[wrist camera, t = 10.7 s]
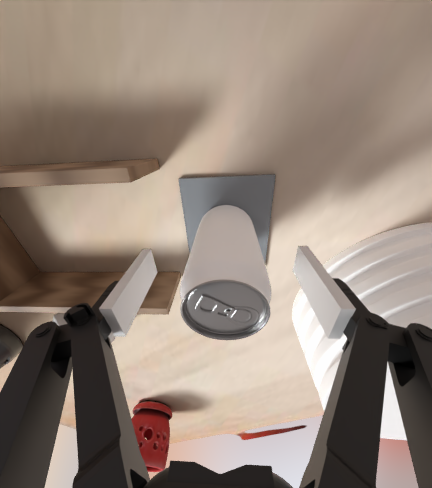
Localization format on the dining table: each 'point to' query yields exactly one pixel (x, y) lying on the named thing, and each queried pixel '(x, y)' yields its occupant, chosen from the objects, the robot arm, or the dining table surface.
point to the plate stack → (373, 304)
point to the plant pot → (152, 433)
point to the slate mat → (229, 201)
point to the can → (225, 277)
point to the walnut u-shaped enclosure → (69, 283)
